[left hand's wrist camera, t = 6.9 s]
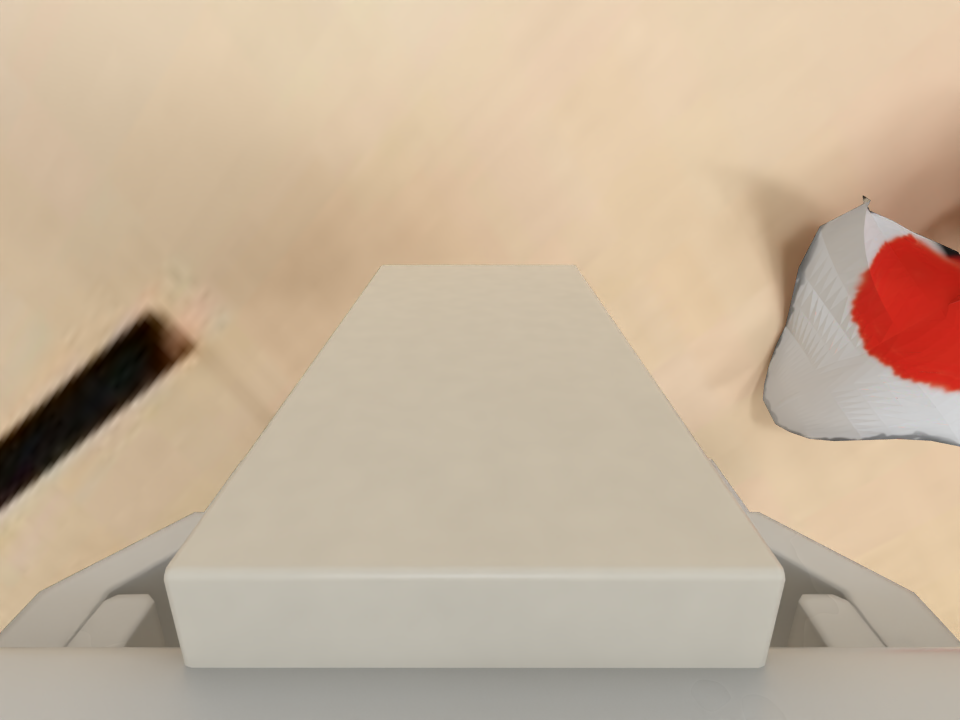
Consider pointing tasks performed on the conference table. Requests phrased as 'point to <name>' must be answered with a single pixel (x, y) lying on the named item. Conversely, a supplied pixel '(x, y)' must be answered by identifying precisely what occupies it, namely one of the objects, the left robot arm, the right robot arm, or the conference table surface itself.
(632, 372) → the brick
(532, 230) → the conference table surface
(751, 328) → the conference table surface
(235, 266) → the conference table surface
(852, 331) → the fish
